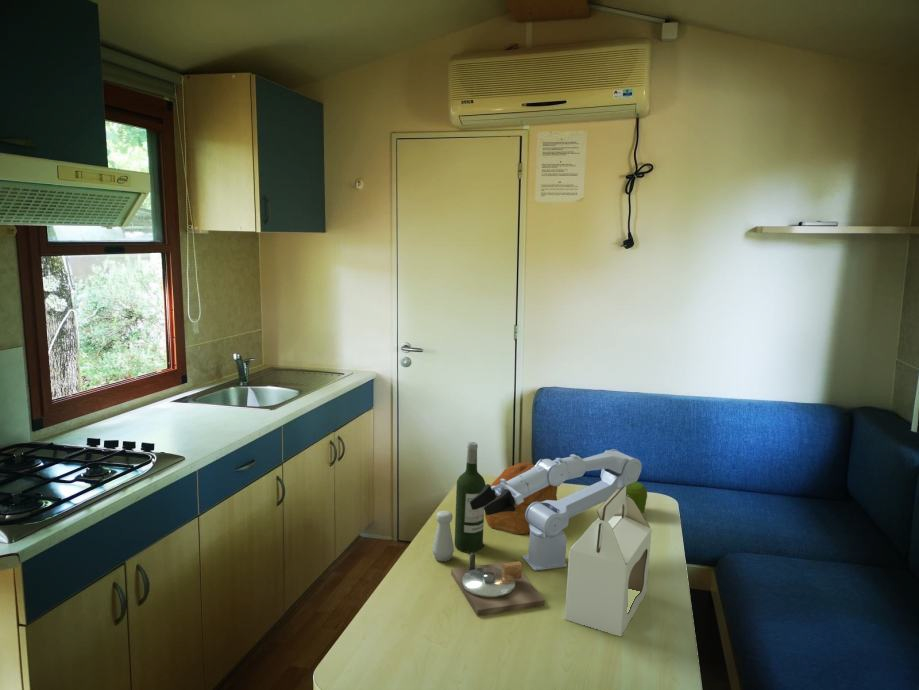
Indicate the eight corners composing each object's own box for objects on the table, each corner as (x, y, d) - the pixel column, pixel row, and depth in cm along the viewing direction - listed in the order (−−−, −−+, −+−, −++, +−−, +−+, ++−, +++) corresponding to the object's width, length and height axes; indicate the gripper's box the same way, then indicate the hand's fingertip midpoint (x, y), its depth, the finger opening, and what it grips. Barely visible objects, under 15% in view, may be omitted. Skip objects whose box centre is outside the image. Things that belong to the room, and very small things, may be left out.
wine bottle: (471, 555, 190) (475, 449, 185) (448, 546, 195) (452, 443, 189) (488, 545, 196) (492, 443, 191) (465, 537, 201) (469, 437, 196)
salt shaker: (450, 564, 185) (452, 518, 182) (429, 561, 186) (431, 515, 183) (455, 554, 190) (457, 509, 188) (435, 551, 191) (436, 507, 189)
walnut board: (512, 566, 185) (513, 545, 184) (544, 605, 166) (545, 582, 165) (451, 574, 179) (451, 552, 178) (477, 616, 161) (478, 591, 160)
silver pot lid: (472, 601, 164) (473, 583, 163) (455, 574, 176) (456, 557, 175) (530, 593, 168) (531, 575, 167) (509, 567, 180) (510, 551, 180)
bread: (479, 526, 209) (481, 475, 206) (513, 496, 233) (515, 451, 230) (529, 538, 202) (532, 486, 199) (559, 506, 226) (562, 460, 223)
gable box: (595, 579, 179) (602, 475, 175) (646, 594, 173) (655, 487, 168) (564, 620, 160) (571, 505, 156) (620, 638, 154) (630, 518, 149)
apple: (608, 516, 219) (610, 483, 217) (611, 504, 229) (613, 472, 227) (644, 522, 216) (647, 488, 214) (646, 509, 226) (648, 477, 224)
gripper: (503, 468, 186) (460, 489, 180) (532, 475, 173) (487, 498, 167) (511, 492, 187) (469, 514, 181) (540, 501, 173) (495, 525, 168)
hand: (478, 508), depth 174 cm, fingers open, 7 cm apart
